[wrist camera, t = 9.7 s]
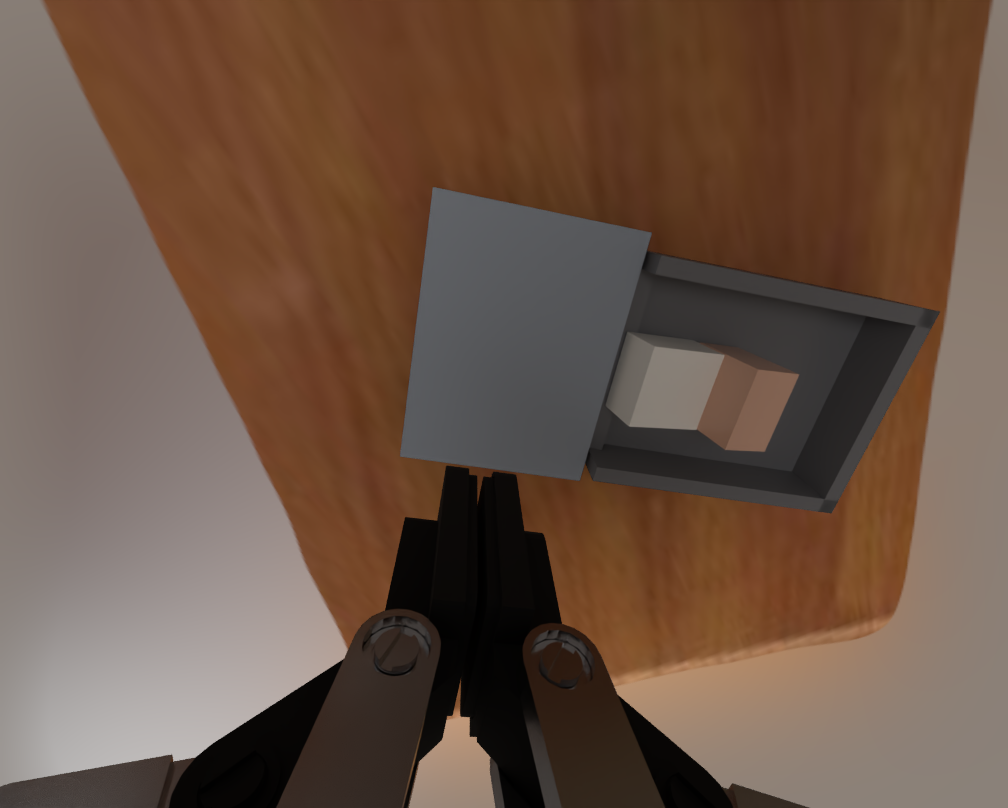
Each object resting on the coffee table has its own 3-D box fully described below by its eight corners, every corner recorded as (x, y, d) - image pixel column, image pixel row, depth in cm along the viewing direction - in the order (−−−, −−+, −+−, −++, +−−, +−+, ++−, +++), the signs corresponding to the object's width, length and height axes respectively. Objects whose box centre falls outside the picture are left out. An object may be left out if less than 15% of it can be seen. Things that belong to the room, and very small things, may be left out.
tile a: (627, 331, 29) (654, 346, 26) (692, 340, 31) (724, 355, 28) (605, 405, 31) (629, 426, 28) (668, 409, 33) (696, 429, 30)
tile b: (758, 369, 26) (799, 374, 27) (700, 342, 30) (737, 347, 31) (725, 449, 28) (764, 451, 29) (675, 413, 32) (710, 415, 33)
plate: (436, 188, 27) (433, 187, 24) (637, 230, 28) (651, 232, 26) (405, 438, 33) (400, 456, 30) (572, 462, 34) (579, 480, 32)
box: (637, 248, 29) (661, 255, 25) (884, 298, 31) (939, 311, 27) (579, 450, 34) (593, 480, 30) (795, 481, 36) (831, 513, 32)
